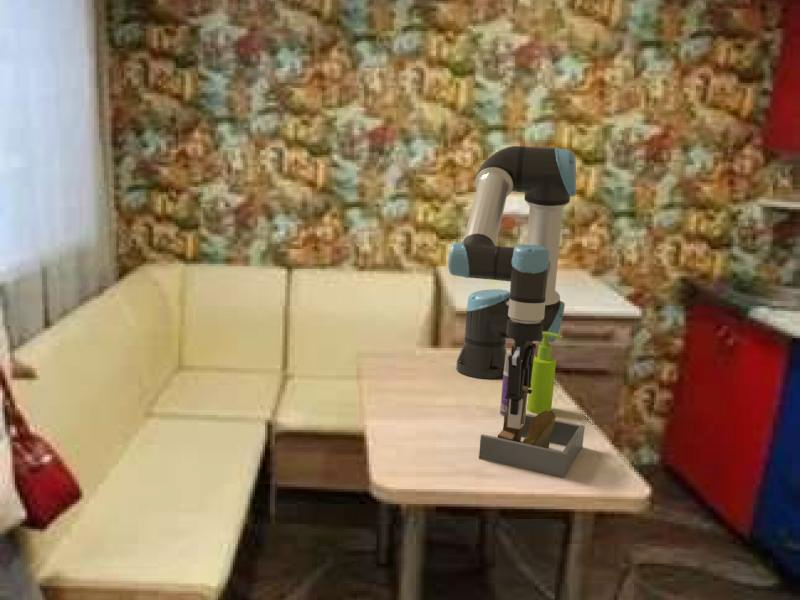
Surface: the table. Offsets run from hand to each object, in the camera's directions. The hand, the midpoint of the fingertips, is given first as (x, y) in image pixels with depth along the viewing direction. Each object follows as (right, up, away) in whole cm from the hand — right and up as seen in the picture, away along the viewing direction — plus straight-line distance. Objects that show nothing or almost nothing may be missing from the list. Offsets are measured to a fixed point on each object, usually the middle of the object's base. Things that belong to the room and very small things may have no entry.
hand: (516, 424), depth 171 cm
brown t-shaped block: (-2, -5, +2) cm, 6 cm away
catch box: (+3, -6, 0) cm, 7 cm away
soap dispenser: (+10, -1, +26) cm, 28 cm away
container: (+2, -1, +22) cm, 22 cm away
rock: (+3, -6, -1) cm, 7 cm away
